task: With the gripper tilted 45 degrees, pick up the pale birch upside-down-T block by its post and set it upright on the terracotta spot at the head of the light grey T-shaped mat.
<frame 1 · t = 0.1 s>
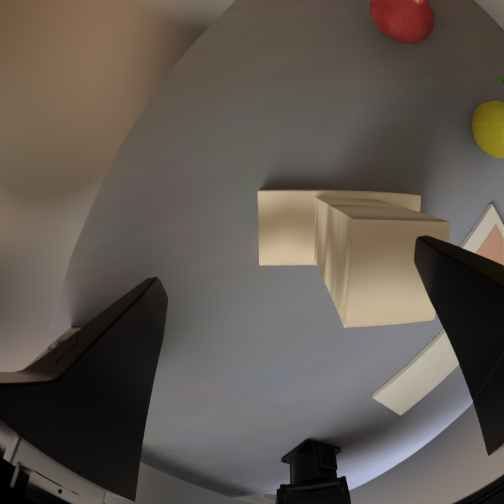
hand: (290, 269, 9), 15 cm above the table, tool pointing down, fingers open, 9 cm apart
onion: (388, 31, 18), on the table
tee mat: (494, 294, 24), on the table
birch tee block: (339, 224, 24), on the table
lemon: (474, 130, 20), on the table
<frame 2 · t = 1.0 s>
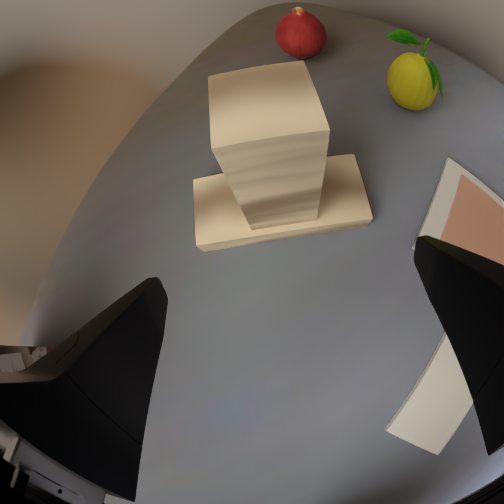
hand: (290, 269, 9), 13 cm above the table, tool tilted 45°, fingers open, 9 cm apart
onion: (302, 59, 28), on the table
tee mat: (502, 255, 19), on the table
birch tee block: (280, 205, 24), on the table
coffee box: (57, 376, 24), on the table
lemon: (402, 105, 25), on the table
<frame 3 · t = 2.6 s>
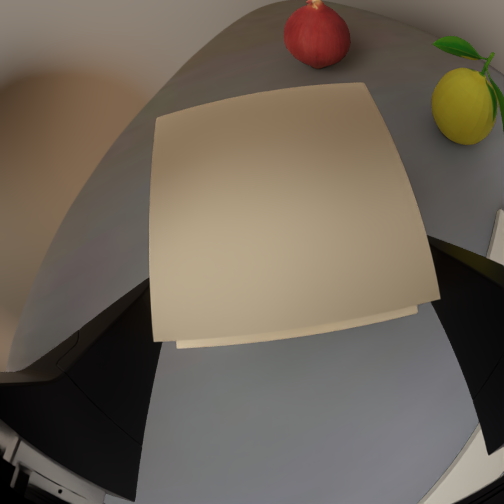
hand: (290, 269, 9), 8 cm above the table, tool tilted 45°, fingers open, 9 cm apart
onion: (317, 68, 22), on the table
birch tee block: (292, 287, 17), on the table
lemon: (445, 135, 18), on the table
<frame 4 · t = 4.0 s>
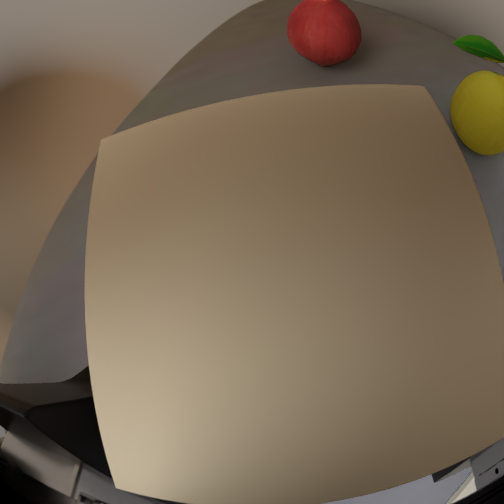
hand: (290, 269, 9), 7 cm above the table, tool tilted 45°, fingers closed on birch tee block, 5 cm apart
onion: (323, 65, 20), on the table
birch tee block: (296, 318, 15), on the table, touching gripper
lemon: (463, 142, 16), on the table
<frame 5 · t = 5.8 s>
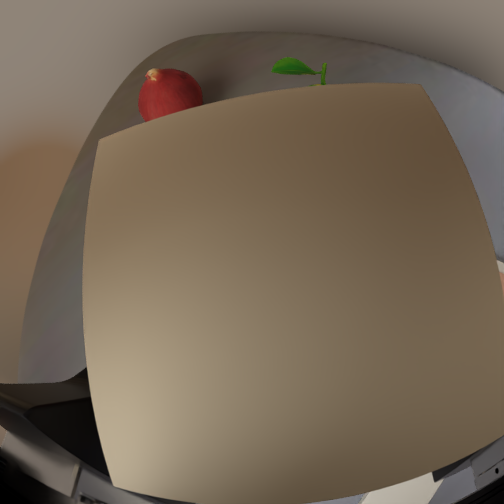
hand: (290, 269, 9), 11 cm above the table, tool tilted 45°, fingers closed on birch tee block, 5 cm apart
onion: (184, 125, 26), on the table
tee mat: (471, 319, 17), on the table
birch tee block: (295, 317, 15), point 5 cm above the table, touching gripper
lemon: (316, 154, 23), on the table
when the fingers open (9 cm above the table, at t = 7.6 s): birch tee block drops 1 cm, resting on tee mat.
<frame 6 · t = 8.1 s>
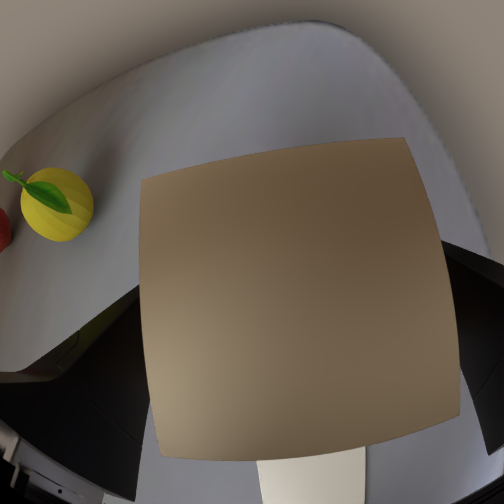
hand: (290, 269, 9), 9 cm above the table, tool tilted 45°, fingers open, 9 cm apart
onion: (11, 240, 24), on the table
tee mat: (296, 318, 17), on the table
birch tee block: (296, 318, 16), point 1 cm above the table, touching tee mat
lemon: (86, 221, 22), on the table
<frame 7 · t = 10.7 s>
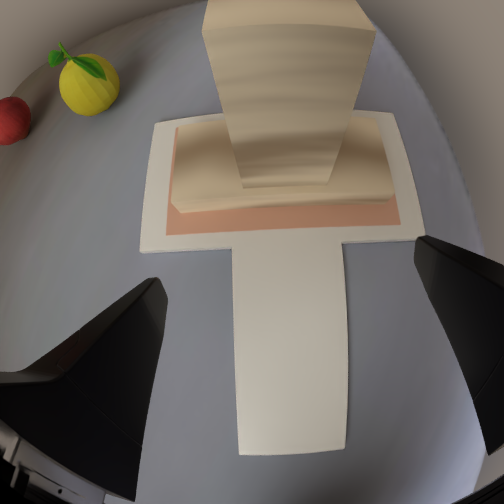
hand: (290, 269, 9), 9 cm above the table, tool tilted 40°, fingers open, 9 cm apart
onion: (27, 136, 24), on the table
tee mat: (281, 171, 20), on the table
birch tee block: (281, 166, 19), point 1 cm above the table, touching tee mat
lemon: (106, 109, 23), on the table
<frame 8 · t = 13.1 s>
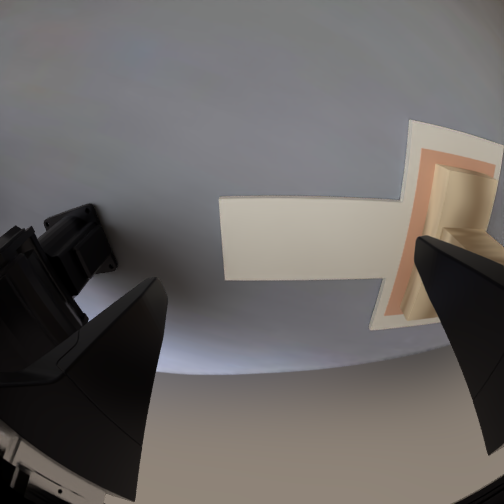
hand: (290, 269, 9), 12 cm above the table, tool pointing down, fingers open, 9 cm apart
tee mat: (441, 240, 22), on the table
birch tee block: (445, 243, 21), point 1 cm above the table, touching tee mat
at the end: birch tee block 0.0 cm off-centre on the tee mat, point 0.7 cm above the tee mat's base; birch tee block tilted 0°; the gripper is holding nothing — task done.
